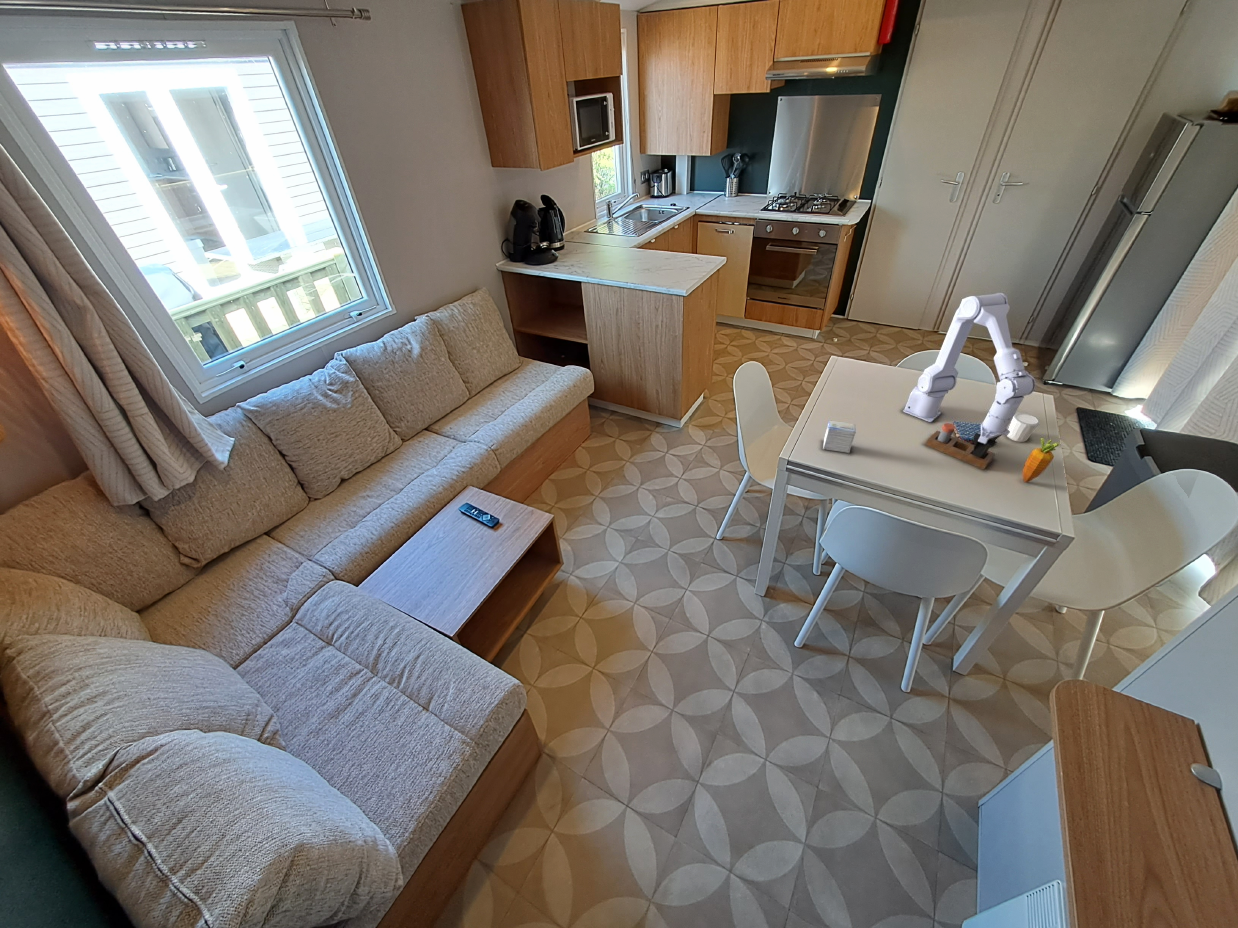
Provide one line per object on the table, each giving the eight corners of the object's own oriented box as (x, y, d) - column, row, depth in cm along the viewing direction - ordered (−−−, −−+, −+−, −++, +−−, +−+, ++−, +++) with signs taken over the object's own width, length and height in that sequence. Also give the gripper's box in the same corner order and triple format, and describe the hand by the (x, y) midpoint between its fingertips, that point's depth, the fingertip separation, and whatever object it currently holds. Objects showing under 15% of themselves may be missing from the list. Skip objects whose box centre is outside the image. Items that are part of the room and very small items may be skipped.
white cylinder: (1033, 443, 155) (1044, 425, 150) (1008, 442, 156) (1019, 424, 152) (1024, 431, 160) (1034, 413, 155) (1000, 429, 161) (1010, 411, 157)
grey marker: (933, 445, 157) (941, 426, 152) (937, 440, 158) (946, 421, 154) (943, 449, 155) (952, 430, 150) (947, 445, 156) (957, 426, 152)
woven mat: (984, 427, 162) (986, 422, 161) (995, 446, 155) (998, 441, 153) (949, 424, 165) (951, 419, 163) (958, 443, 157) (960, 438, 155)
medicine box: (848, 445, 159) (855, 423, 153) (849, 453, 156) (856, 431, 150) (823, 441, 161) (829, 419, 156) (822, 449, 158) (828, 427, 152)
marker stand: (925, 445, 157) (927, 439, 155) (934, 436, 160) (937, 430, 159) (983, 469, 147) (987, 463, 145) (992, 459, 150) (995, 453, 148)
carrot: (1010, 477, 144) (1036, 436, 134) (1027, 475, 144) (1053, 434, 134) (1022, 488, 140) (1049, 447, 130) (1039, 486, 140) (1067, 445, 131)
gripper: (1007, 430, 134) (986, 468, 142) (1025, 409, 141) (1004, 446, 149) (978, 420, 138) (959, 457, 147) (998, 400, 145) (979, 436, 154)
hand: (980, 451), depth 148 cm, fingers open, 5 cm apart
